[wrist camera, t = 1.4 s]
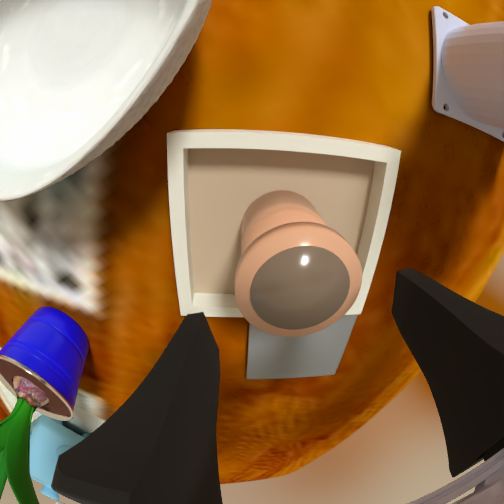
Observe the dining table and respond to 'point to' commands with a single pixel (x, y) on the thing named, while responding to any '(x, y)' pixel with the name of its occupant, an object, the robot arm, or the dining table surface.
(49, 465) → the teakettle
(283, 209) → the pot
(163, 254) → the dining table surface
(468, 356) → the robot arm
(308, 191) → the square beige tray
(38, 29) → the cereal bowl
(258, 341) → the coaster
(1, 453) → the hyacinth
